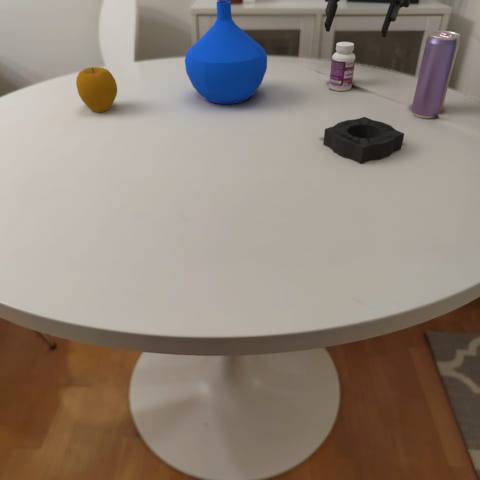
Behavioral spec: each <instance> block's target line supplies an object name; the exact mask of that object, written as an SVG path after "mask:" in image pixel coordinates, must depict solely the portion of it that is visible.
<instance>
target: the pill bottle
mask: <svg viewBox="0 0 480 480" xmlns="http://www.w3.org/2000/svg"><path fill="white" fill-rule="evenodd" d="M354 50H355V44H354V43H353V42H350V41H339V42H337V43H336V45H335V52H334V53H333V54H332V56H331V62H330V72H329V73H330V74H329V83H328V87H329V89H330V90H332V91H336V92H346V91H349V90H351V89H352V87H353V80H354V78H353V77H354V73H355V72H354V71H355V64H356V55H355V53H353V51H354Z"/></svg>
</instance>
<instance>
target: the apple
mask: <svg viewBox="0 0 480 480" xmlns="http://www.w3.org/2000/svg"><path fill="white" fill-rule="evenodd" d="M75 84H76V90H77V93H78V97H80V99H81V101H82V102H83V103H84V104H85V106H86V107H87V108H88V109H89V110H91V111H92V112H95V113H106V112H107V111H108V110H110V109H111V108H112V106H113V104H114V101H115V99H116V98H117V95H118V85H117V81H116V79H115V77H114V76H113V74H112V73H111V72H110V70H109V69H107V68H104V67H97V66H91V67H87V68H83V69H81V70H80V71H79V72H78V74H77V76H76V81H75Z"/></svg>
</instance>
